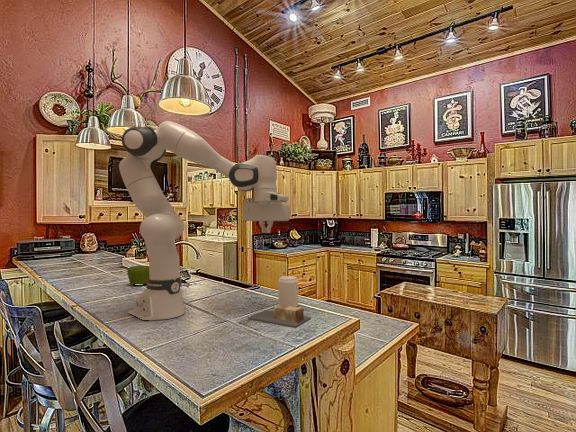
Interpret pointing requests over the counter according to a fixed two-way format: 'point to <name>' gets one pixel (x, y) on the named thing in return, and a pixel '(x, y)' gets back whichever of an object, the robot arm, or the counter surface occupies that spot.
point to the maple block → (289, 313)
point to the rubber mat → (269, 318)
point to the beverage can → (288, 291)
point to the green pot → (138, 274)
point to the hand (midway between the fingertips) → (266, 233)
